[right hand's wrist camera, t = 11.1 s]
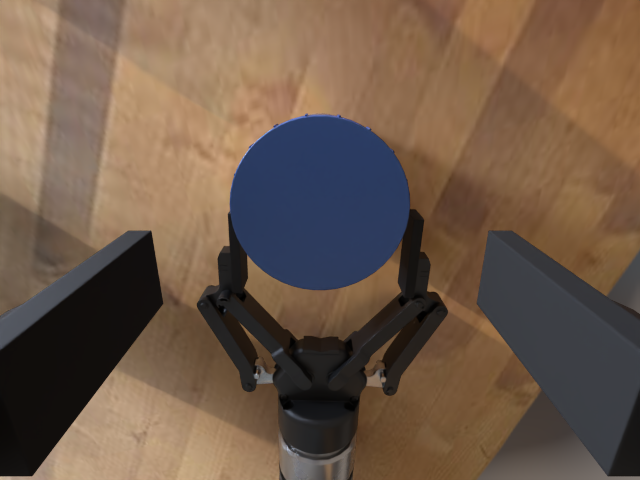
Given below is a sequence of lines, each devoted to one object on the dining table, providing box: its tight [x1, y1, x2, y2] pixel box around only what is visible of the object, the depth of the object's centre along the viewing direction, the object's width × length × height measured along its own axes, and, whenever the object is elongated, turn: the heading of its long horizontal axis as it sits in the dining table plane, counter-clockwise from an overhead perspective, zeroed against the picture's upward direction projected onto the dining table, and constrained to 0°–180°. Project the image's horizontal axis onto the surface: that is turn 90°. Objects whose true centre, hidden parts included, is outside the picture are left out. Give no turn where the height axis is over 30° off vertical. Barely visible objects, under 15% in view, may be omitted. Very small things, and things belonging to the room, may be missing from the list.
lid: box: [230, 114, 410, 290], centre depth 20 cm, size 9×9×2 cm
